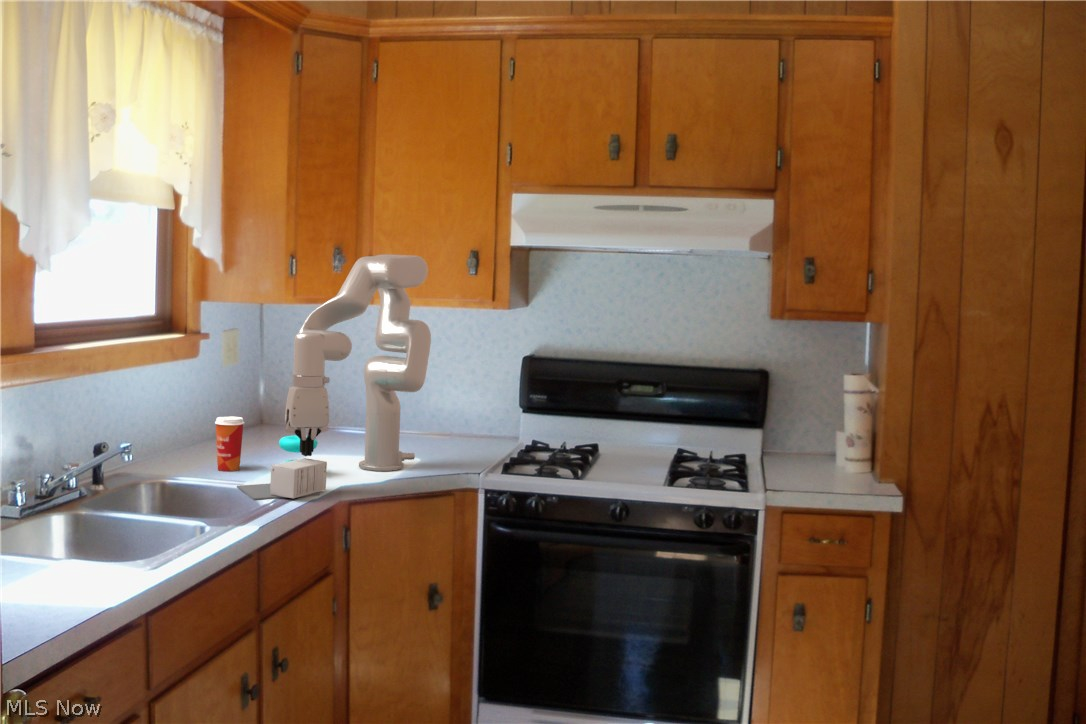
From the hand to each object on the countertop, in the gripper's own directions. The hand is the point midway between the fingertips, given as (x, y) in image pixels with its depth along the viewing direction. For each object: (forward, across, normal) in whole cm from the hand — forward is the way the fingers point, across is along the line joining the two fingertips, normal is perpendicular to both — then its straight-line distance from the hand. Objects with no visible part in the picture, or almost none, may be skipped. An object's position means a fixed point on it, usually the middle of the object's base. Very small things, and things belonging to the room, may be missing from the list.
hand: (306, 455), depth 247 cm
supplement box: (+5, -2, +2) cm, 5 cm away
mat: (+9, +7, 0) cm, 11 cm away
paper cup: (+9, +11, -30) cm, 33 cm away
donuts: (+9, -4, -18) cm, 20 cm away
